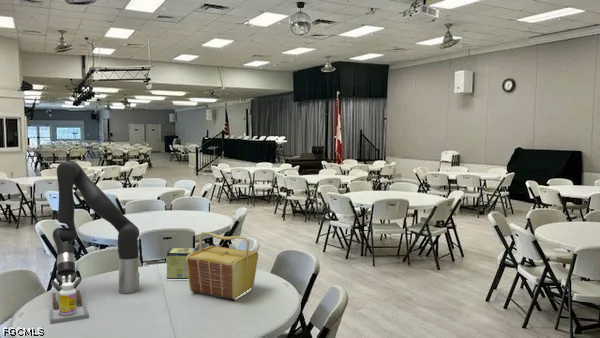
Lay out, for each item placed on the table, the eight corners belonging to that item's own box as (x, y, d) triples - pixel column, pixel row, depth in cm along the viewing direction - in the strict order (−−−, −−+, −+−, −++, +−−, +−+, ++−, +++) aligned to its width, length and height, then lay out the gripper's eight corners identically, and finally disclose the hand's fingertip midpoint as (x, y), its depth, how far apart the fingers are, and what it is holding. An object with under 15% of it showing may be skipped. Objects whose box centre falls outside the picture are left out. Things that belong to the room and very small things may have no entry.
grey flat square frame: (85, 307, 208) (85, 304, 208) (88, 317, 196) (88, 314, 196) (49, 312, 201) (49, 309, 200) (50, 323, 189) (50, 320, 189)
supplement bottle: (69, 316, 197) (69, 287, 196) (55, 314, 198) (55, 285, 197) (79, 310, 204) (79, 282, 203) (65, 309, 205) (65, 281, 204)
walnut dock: (79, 296, 220) (79, 289, 220) (81, 306, 209) (81, 298, 209) (52, 300, 215) (52, 293, 214) (53, 310, 203) (53, 302, 203)
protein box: (169, 275, 259) (169, 247, 258) (197, 275, 261) (198, 248, 260) (166, 280, 249) (166, 252, 248) (195, 280, 250) (195, 252, 249)
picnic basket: (183, 295, 227) (184, 235, 225) (211, 280, 251) (213, 226, 249) (234, 305, 217) (236, 242, 214) (259, 289, 240) (261, 232, 238)
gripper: (49, 262, 208) (50, 297, 198) (82, 259, 215) (83, 293, 205) (49, 270, 213) (50, 305, 203) (81, 267, 220) (83, 300, 210)
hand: (67, 299), depth 204 cm, fingers closed
